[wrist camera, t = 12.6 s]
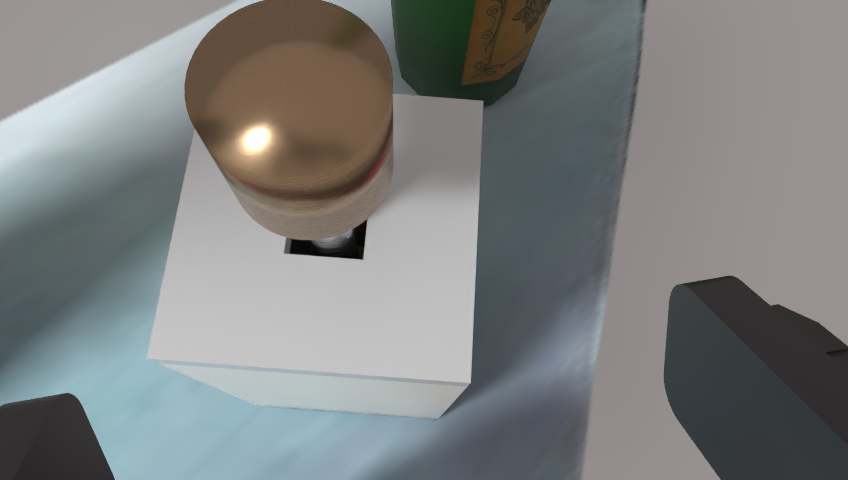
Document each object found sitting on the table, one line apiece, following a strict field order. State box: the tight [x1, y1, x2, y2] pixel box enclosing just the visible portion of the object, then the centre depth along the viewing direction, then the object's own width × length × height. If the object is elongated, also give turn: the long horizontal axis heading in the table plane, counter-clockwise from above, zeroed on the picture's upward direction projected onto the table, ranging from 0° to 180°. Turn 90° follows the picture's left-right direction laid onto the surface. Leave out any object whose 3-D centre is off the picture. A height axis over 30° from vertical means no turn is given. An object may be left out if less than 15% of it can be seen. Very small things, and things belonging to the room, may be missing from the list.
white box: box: [146, 94, 484, 419], centre depth 30 cm, size 10×10×17 cm
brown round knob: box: [185, 0, 394, 259], centre depth 22 cm, size 4×4×18 cm
